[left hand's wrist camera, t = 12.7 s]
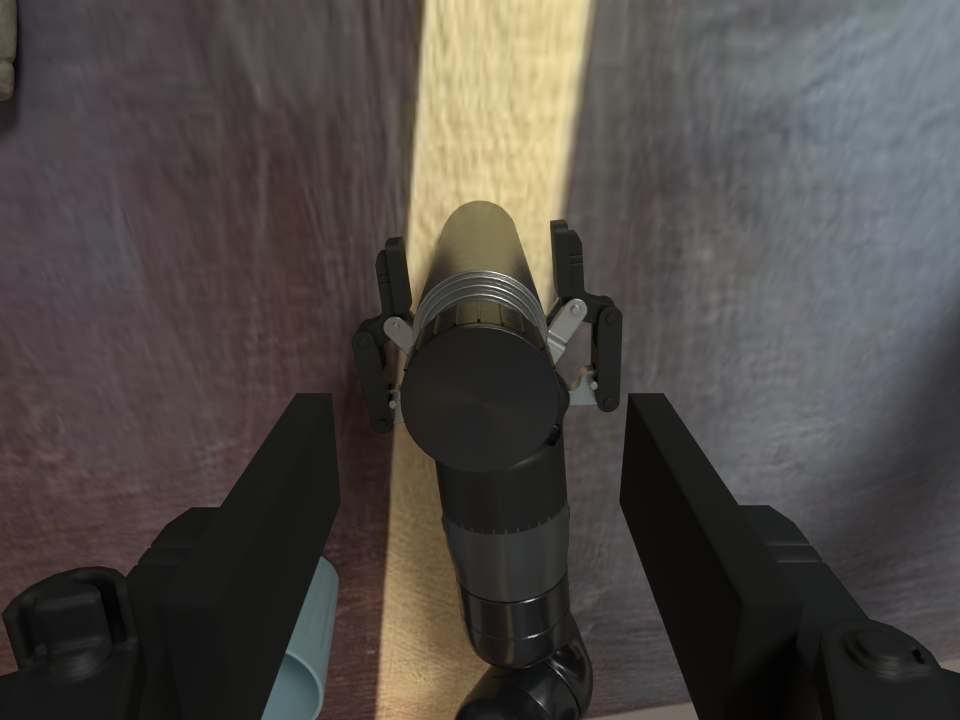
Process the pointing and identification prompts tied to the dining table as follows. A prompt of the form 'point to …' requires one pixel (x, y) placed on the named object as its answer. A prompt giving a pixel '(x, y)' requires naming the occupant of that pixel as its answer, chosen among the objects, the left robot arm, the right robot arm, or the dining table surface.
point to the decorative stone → (7, 47)
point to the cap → (480, 388)
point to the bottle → (479, 267)
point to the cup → (307, 652)
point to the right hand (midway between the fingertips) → (476, 230)
